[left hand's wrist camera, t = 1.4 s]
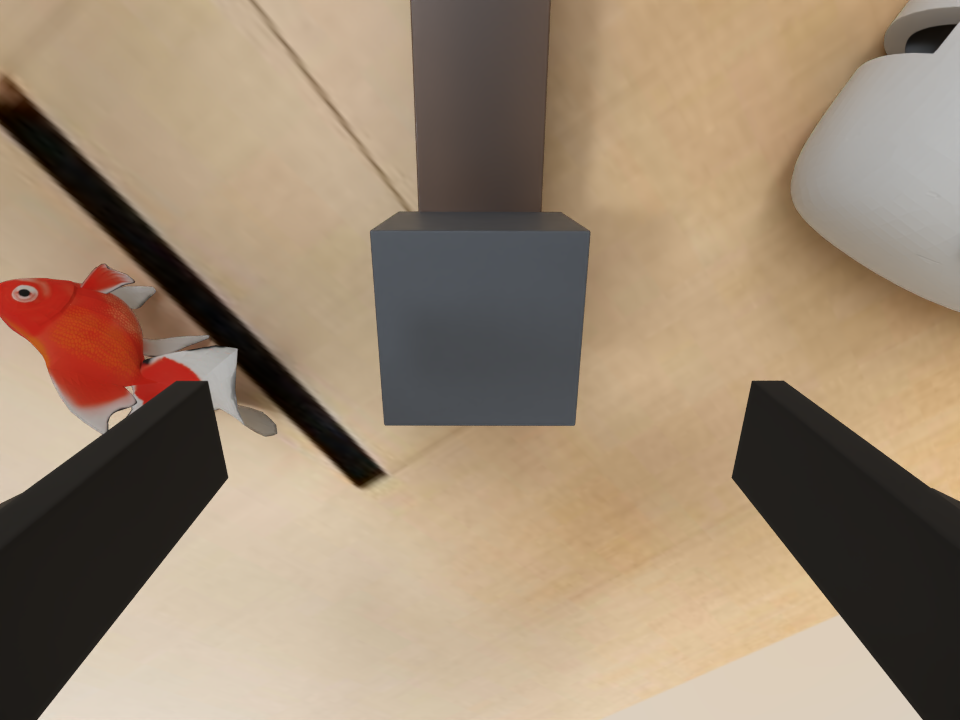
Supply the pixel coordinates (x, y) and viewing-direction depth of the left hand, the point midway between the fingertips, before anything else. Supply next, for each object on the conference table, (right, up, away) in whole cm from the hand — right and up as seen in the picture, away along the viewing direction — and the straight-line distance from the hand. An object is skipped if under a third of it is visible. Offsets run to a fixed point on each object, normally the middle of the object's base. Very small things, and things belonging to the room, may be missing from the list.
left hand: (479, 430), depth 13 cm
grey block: (0, +5, +14) cm, 15 cm away
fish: (-19, +3, +21) cm, 29 cm away
